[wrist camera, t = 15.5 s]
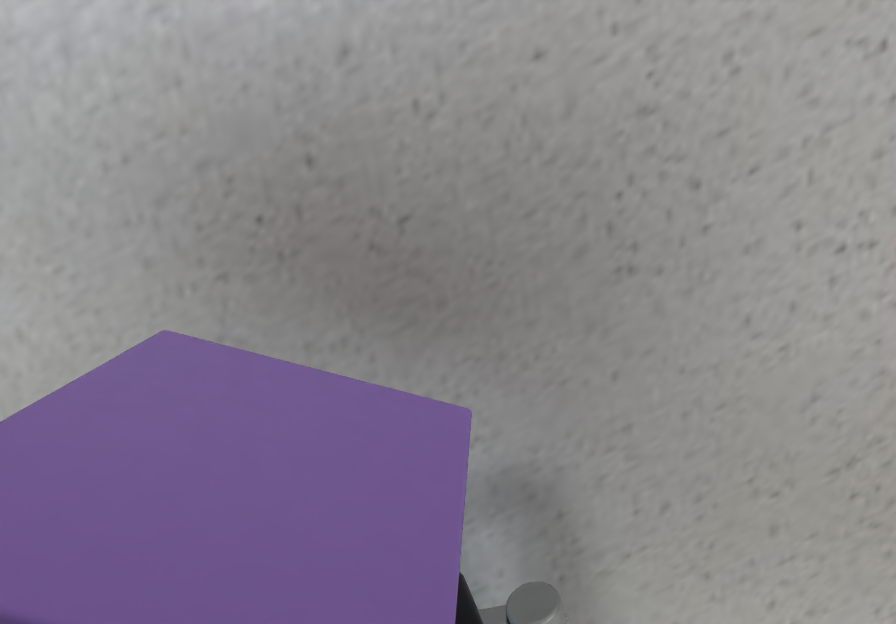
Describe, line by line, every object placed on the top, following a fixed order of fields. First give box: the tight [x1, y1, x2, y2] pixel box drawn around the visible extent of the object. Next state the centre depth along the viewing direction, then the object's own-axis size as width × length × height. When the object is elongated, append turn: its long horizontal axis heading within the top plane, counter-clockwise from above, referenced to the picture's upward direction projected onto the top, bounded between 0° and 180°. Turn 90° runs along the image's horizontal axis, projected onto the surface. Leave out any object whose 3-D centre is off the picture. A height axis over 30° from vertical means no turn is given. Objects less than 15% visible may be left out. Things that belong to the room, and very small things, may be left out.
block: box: [0, 330, 472, 624], centre depth 6 cm, size 4×4×4 cm
